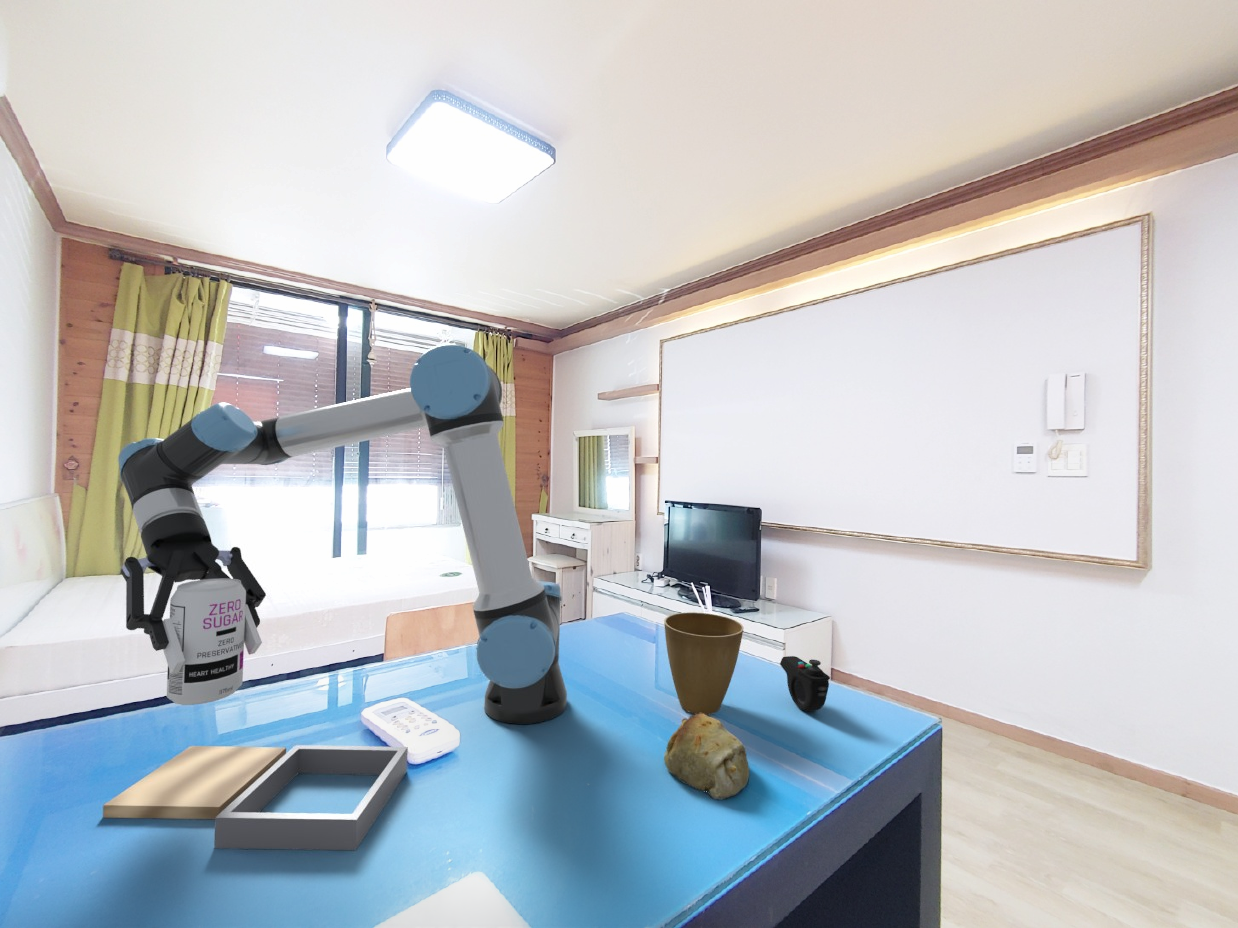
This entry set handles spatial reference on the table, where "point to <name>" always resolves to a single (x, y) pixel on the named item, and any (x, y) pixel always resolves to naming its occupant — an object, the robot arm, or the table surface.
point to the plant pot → (702, 658)
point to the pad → (194, 783)
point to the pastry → (707, 757)
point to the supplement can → (208, 640)
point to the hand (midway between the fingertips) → (218, 657)
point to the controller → (806, 682)
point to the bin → (311, 830)
